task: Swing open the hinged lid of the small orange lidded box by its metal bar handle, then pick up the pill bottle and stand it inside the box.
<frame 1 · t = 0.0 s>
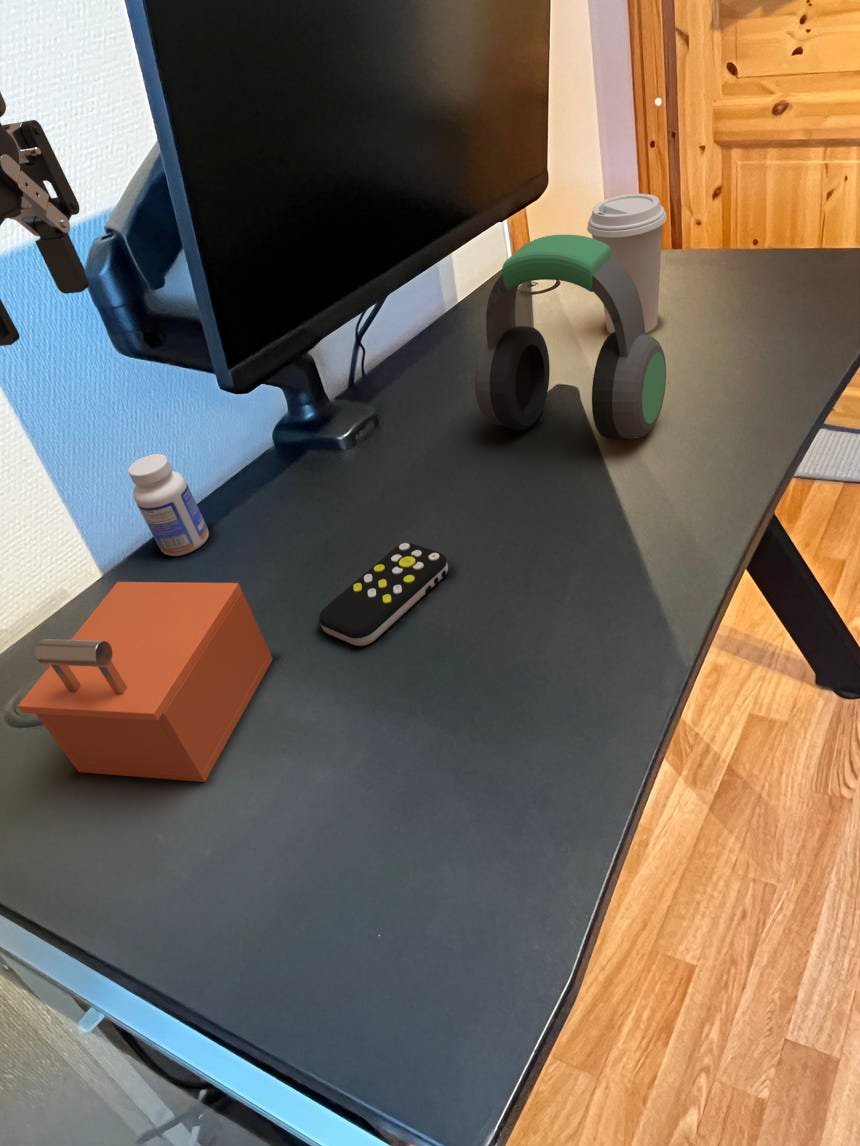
hand: (42, 316, 60), 30 cm above the table, tool pointing down, fingers open, 8 cm apart
headphones: (574, 429, 97), on the table
coffee cup: (632, 327, 115), on the table
box lid: (122, 622, 66), point 11 cm above the table, hinge at 0.0°
orange lidded box: (180, 713, 73), on the table
pill bottle: (186, 543, 93), on the table
remote control: (388, 601, 80), on the table
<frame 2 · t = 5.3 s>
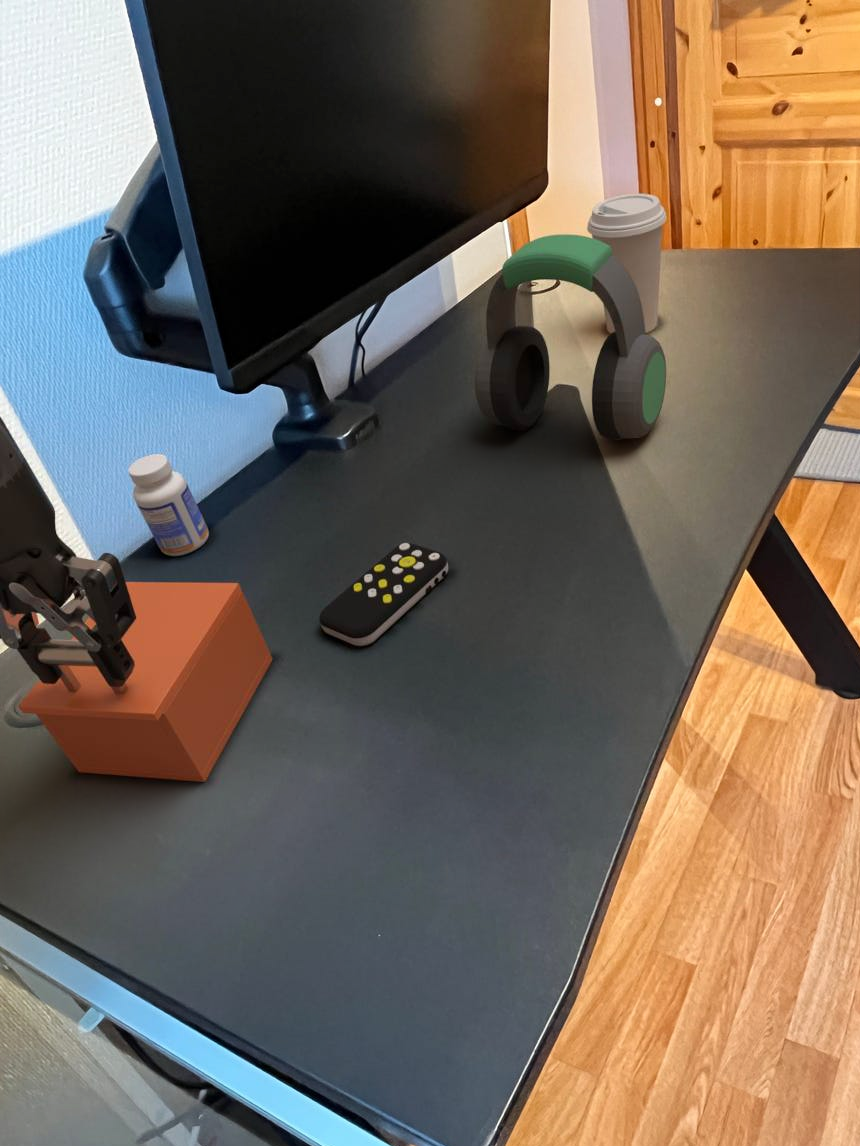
hand: (89, 676, 63), 10 cm above the table, tool pointing down, fingers closed on box lid, 5 cm apart
box lid: (122, 622, 66), point 11 cm above the table, hinge at -0.1°, touching gripper
everything else where it was.
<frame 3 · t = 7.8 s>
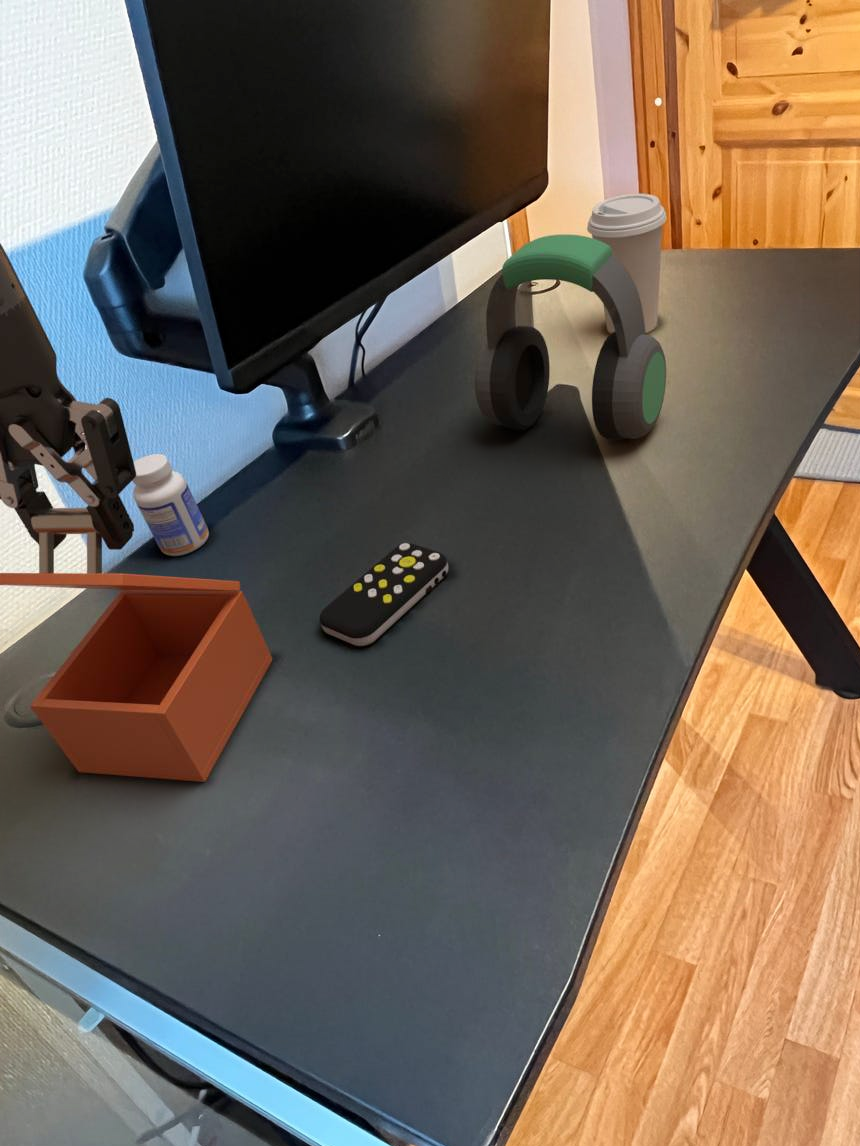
hand: (88, 542, 62), 17 cm above the table, tool pointing down, fingers closed on box lid, 5 cm apart
box lid: (120, 552, 65), point 15 cm above the table, hinge at 41.2°, touching gripper
everything else where it was.
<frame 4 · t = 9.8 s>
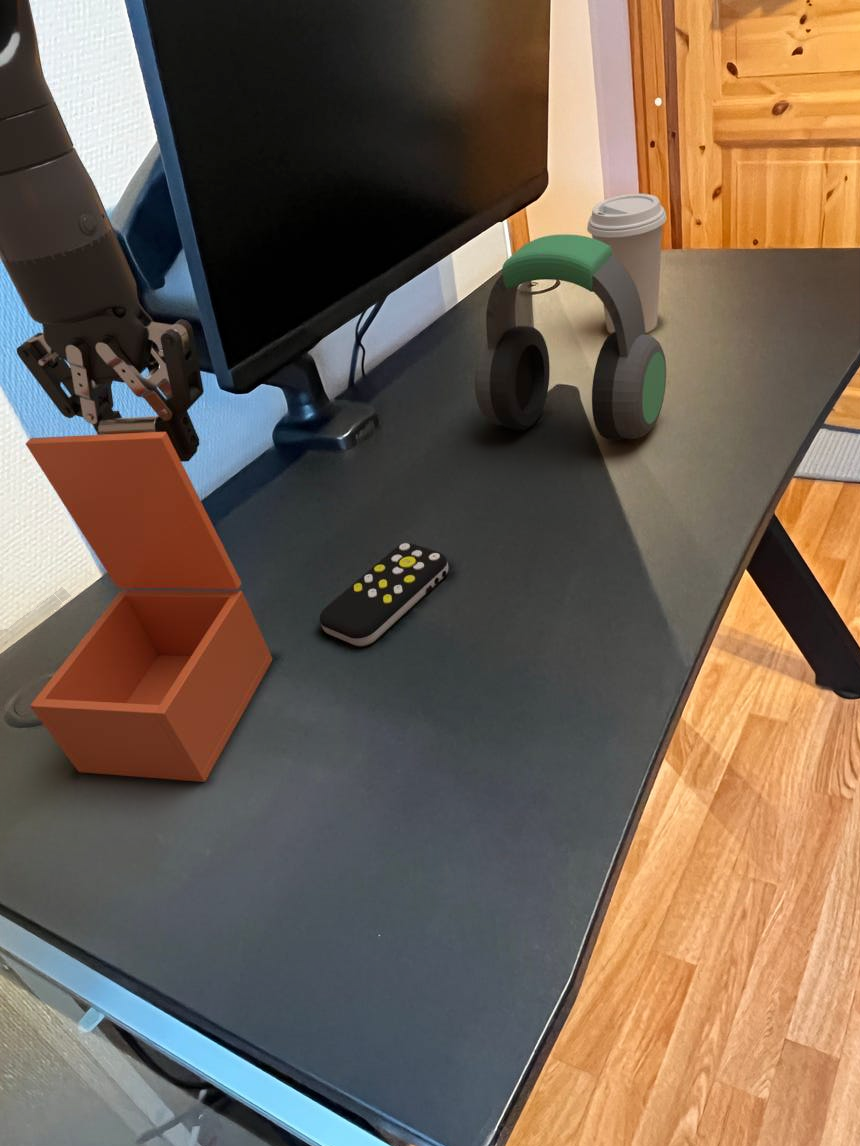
hand: (157, 457, 69), 18 cm above the table, tool pointing down, fingers closed on box lid, 5 cm apart
box lid: (152, 499, 69), point 16 cm above the table, hinge at 86.8°, touching gripper
everything else where it was.
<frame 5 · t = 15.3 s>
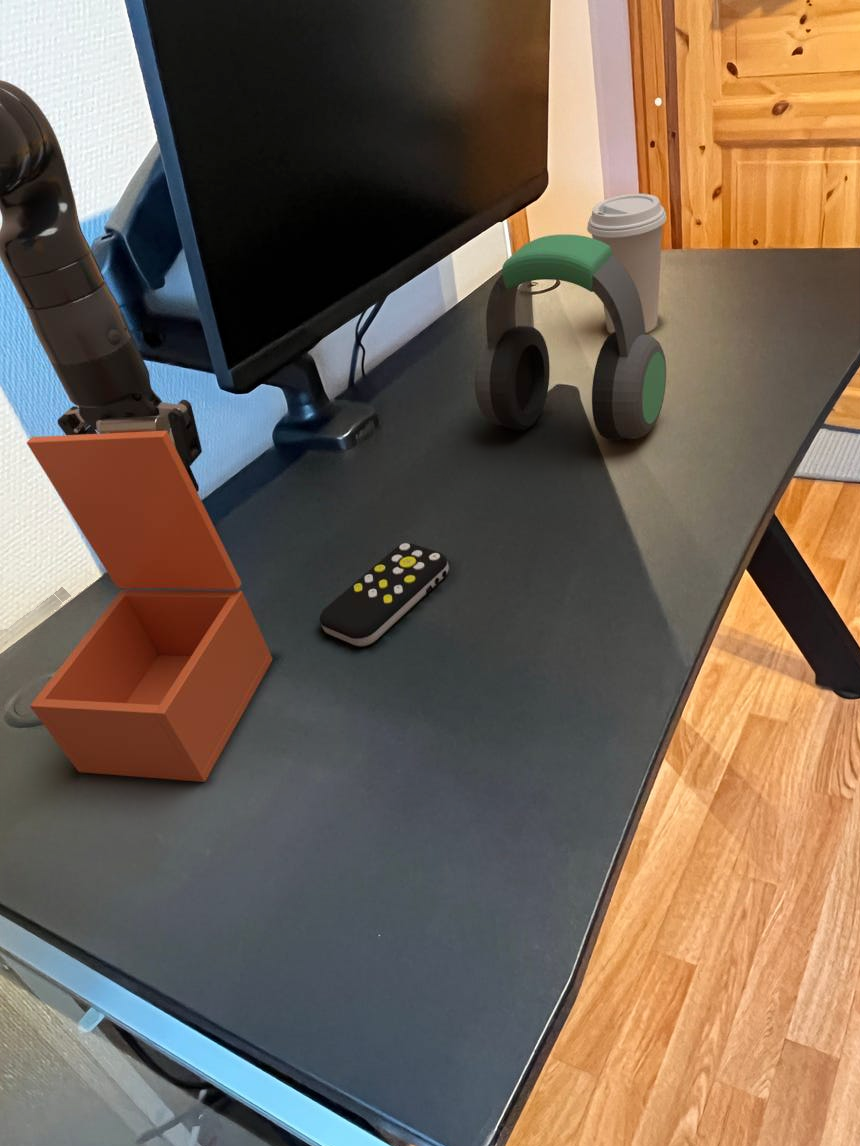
hand: (164, 499, 90), 5 cm above the table, tool pointing down, fingers closed on pill bottle, 5 cm apart
box lid: (153, 498, 69), point 16 cm above the table, hinge at 87.4°
pill bottle: (186, 543, 93), on the table, touching gripper
everything else where it was.
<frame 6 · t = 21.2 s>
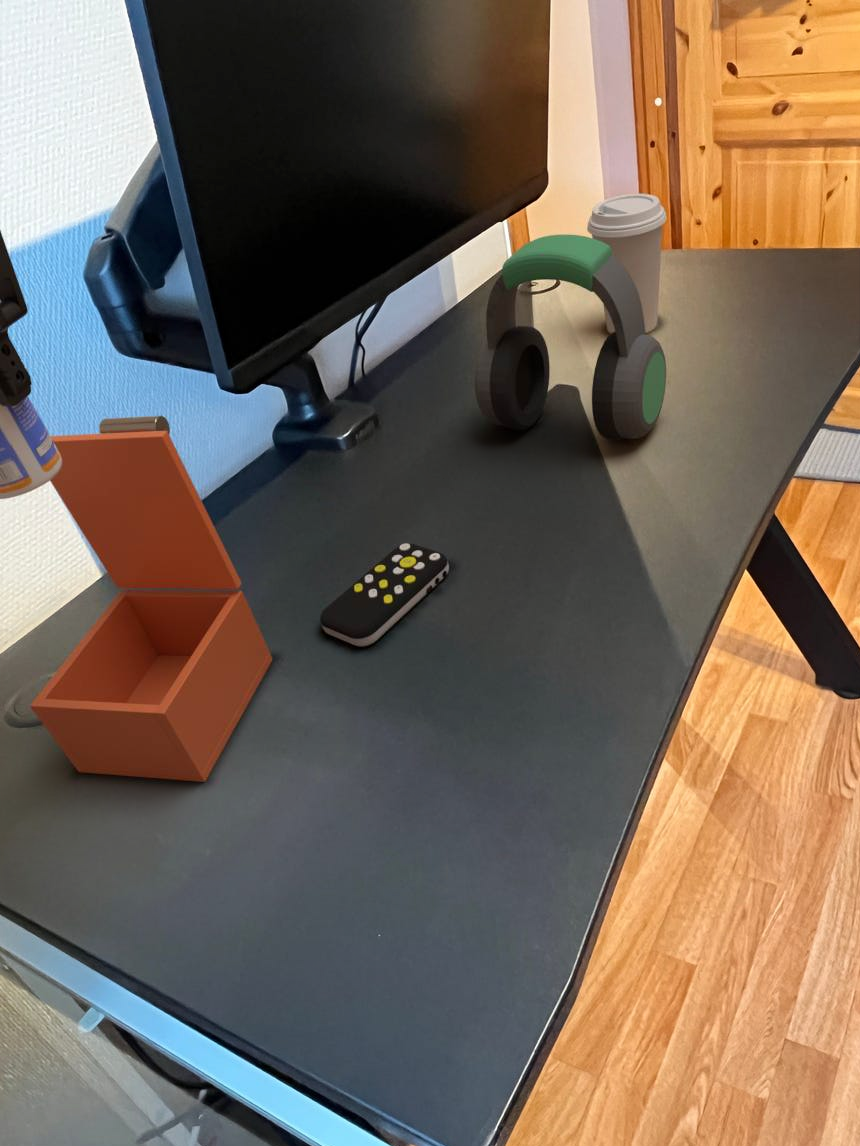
pill bottle: (25, 480, 57), point 24 cm above the table, touching gripper
everything else where it was.
when the fingers open (7 cm above the table, at t = 27.2 s): pill bottle stays where it is, resting on orange lidded box.
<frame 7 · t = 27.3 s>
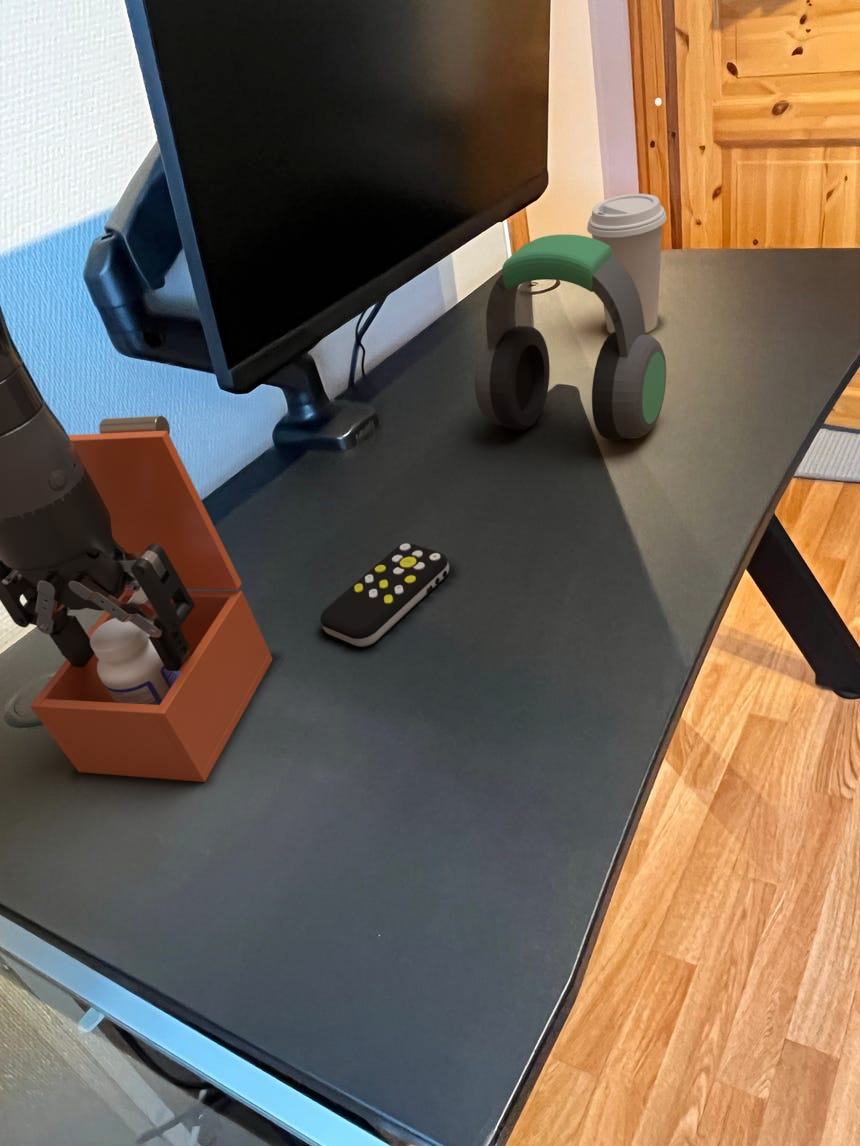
hand: (131, 661, 67), 8 cm above the table, tool pointing down, fingers open, 8 cm apart
pill bottle: (168, 720, 72), point 1 cm above the table, touching orange lidded box
everything else where it was.
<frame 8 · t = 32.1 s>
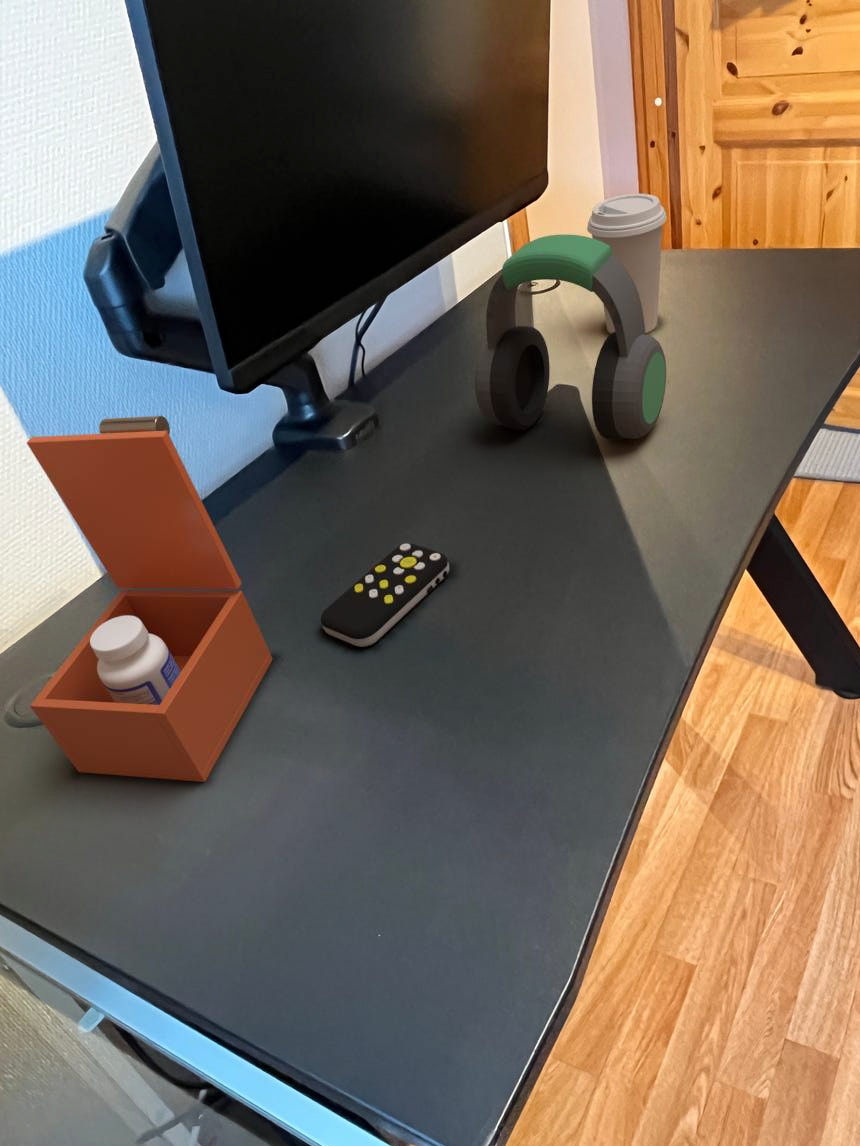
nothing on the table moved.
at the end: box lid at +87° (first picture: +0°); pill bottle inside the target area in the orange lidded box (1.4 cm from its centre), point 0.6 cm above the orange lidded box's base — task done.
